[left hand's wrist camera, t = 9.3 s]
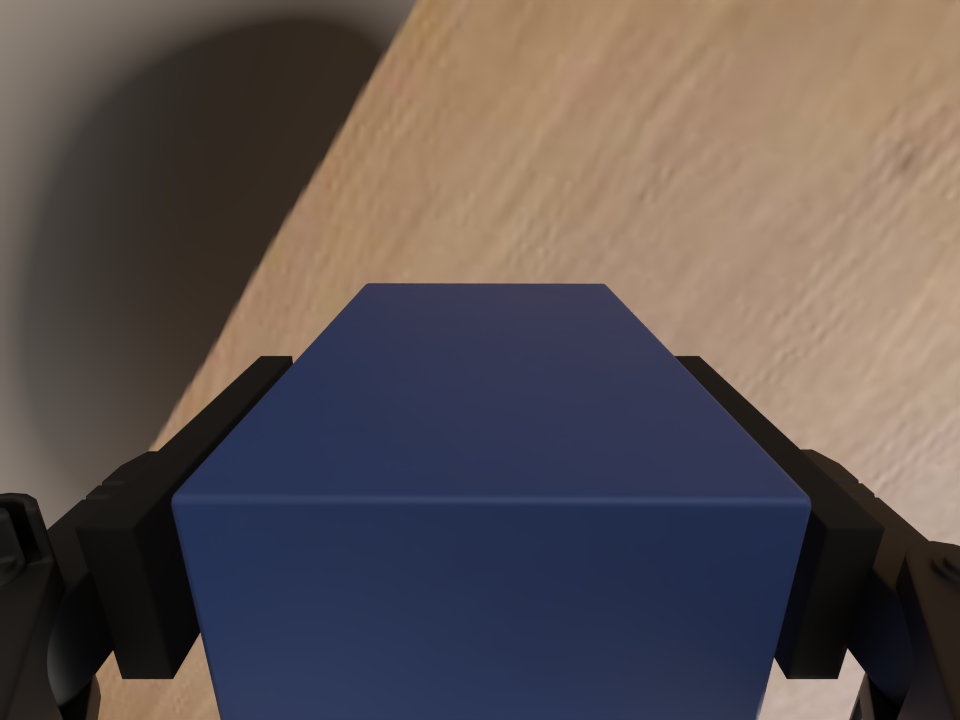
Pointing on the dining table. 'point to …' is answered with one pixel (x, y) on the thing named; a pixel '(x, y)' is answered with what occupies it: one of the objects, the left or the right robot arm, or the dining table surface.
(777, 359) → the dining table surface
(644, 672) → the box
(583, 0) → the dining table surface
